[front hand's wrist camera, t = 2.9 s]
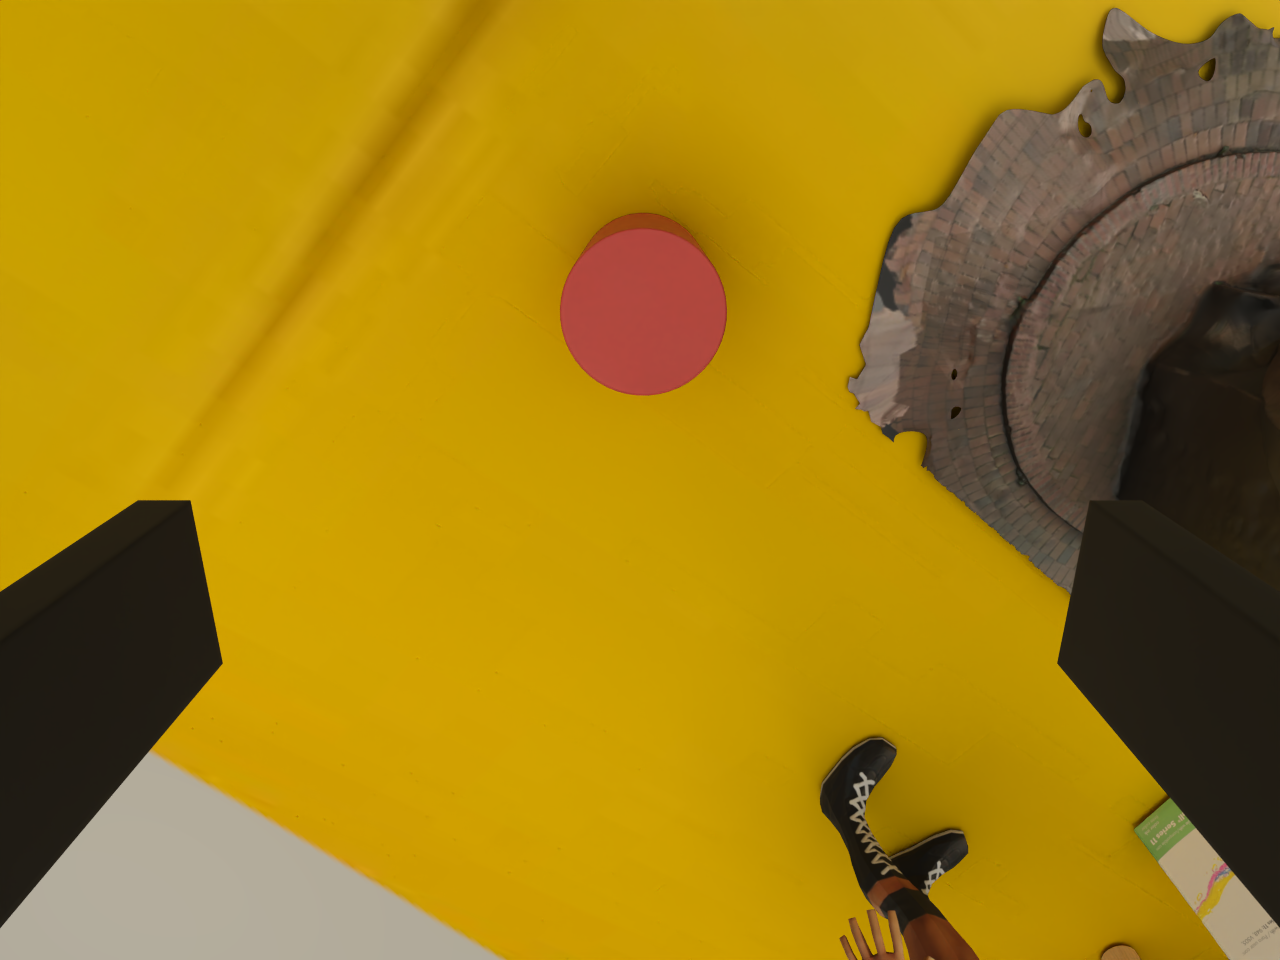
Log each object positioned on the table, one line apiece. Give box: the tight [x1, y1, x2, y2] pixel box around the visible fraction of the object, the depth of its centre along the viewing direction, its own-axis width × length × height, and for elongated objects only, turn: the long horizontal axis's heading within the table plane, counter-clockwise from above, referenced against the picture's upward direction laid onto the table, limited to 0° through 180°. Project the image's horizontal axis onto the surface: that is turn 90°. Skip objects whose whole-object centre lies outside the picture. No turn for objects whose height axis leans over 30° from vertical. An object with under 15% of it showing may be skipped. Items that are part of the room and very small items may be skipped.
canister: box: [560, 213, 727, 395], centre depth 38 cm, size 7×7×10 cm
